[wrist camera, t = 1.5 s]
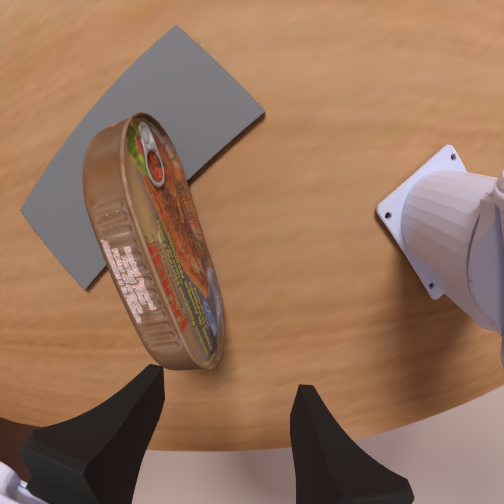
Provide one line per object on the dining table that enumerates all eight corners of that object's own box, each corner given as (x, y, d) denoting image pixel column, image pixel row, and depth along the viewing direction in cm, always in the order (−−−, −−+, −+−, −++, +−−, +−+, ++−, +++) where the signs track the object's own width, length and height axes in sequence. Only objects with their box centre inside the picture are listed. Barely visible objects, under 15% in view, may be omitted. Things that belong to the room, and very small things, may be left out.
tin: (230, 318, 23) (223, 399, 15) (191, 326, 24) (169, 405, 16) (169, 115, 18) (118, 101, 10) (126, 131, 19) (57, 130, 11)
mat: (265, 112, 19) (265, 111, 18) (87, 287, 23) (84, 289, 23) (177, 27, 17) (176, 24, 17) (23, 209, 21) (20, 210, 21)
